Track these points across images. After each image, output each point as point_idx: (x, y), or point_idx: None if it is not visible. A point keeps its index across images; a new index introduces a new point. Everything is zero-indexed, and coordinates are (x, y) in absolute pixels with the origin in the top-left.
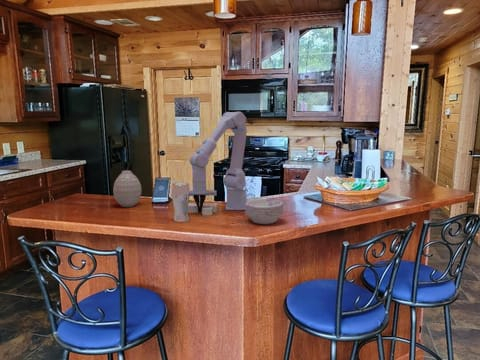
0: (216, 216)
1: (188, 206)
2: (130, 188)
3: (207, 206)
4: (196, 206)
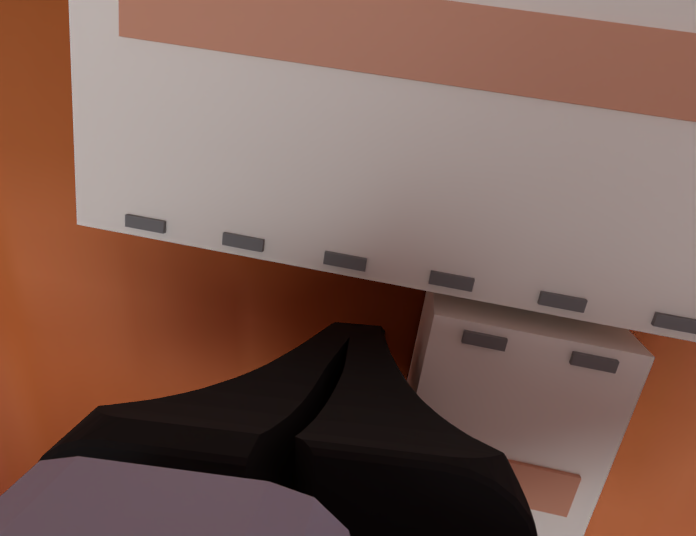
0: (601, 511)
1: (116, 229)
2: None
3: (521, 376)
4: (282, 258)
